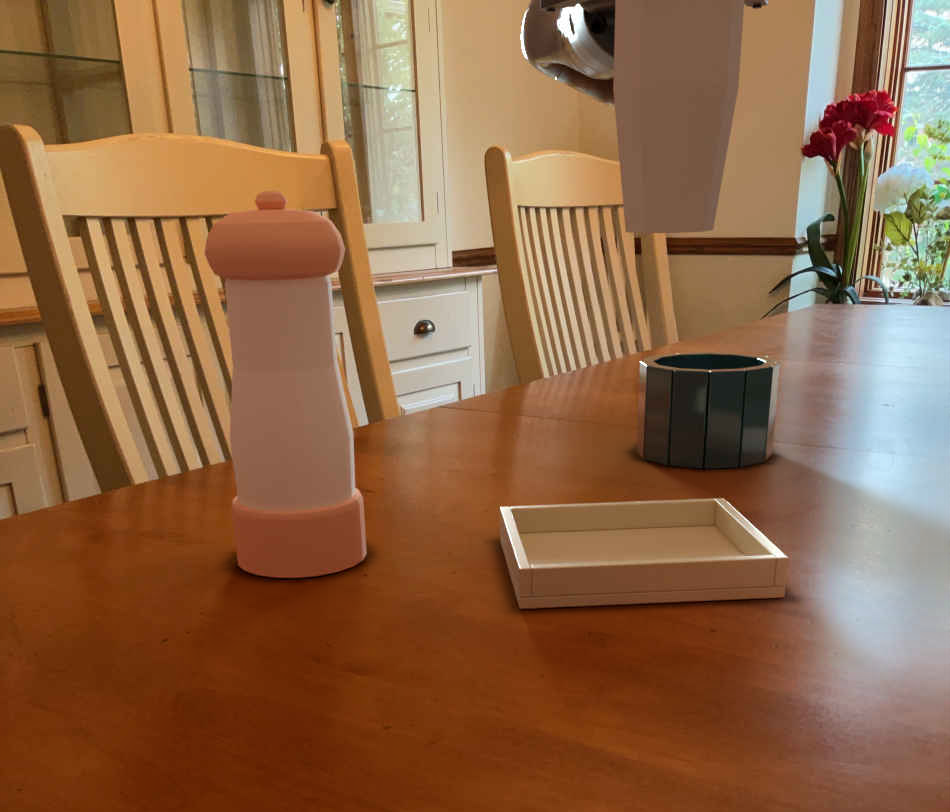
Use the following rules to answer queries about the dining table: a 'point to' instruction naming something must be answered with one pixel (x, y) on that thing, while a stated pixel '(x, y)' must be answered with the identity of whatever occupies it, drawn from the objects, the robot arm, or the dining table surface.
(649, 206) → the faceted bottle
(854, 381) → the dining table surface
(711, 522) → the tray
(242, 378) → the salt shaker
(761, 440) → the holder
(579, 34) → the robot arm
